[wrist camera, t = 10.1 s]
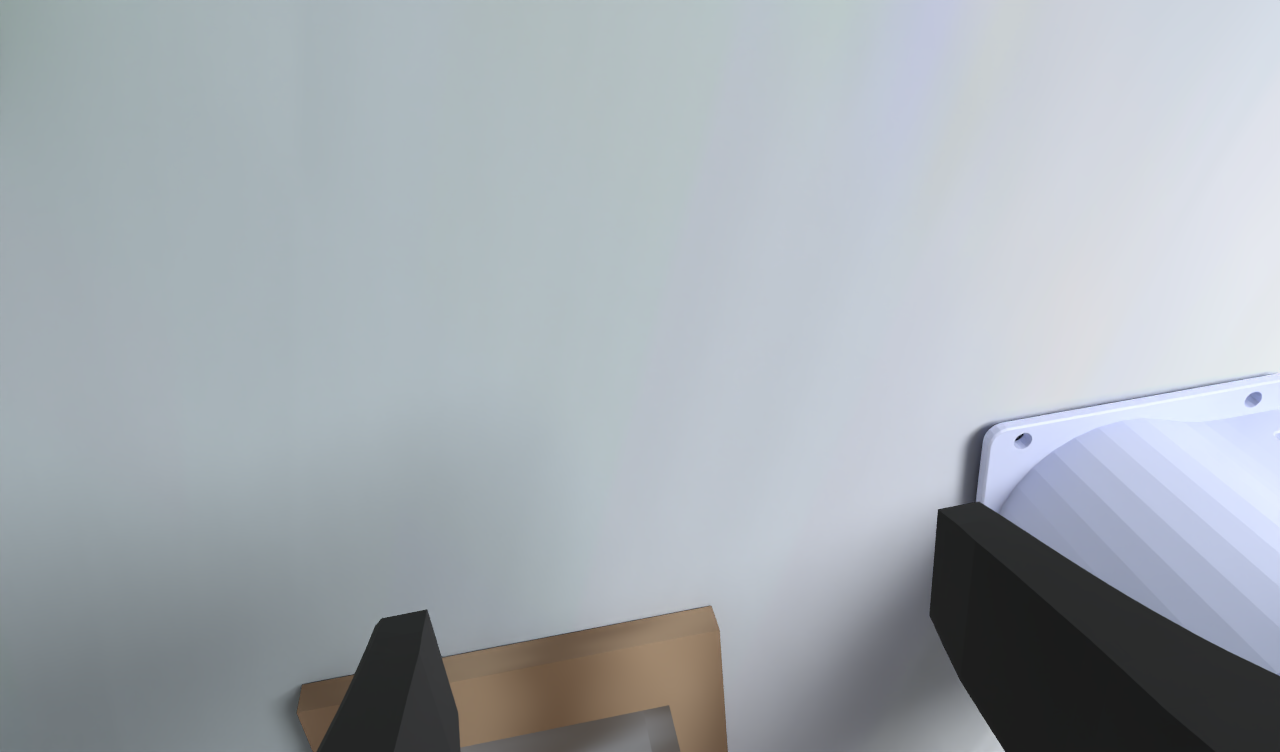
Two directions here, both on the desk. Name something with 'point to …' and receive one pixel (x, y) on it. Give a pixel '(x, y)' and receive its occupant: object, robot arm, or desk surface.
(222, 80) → the desk surface
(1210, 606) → the robot arm
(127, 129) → the desk surface
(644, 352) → the desk surface
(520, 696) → the board
